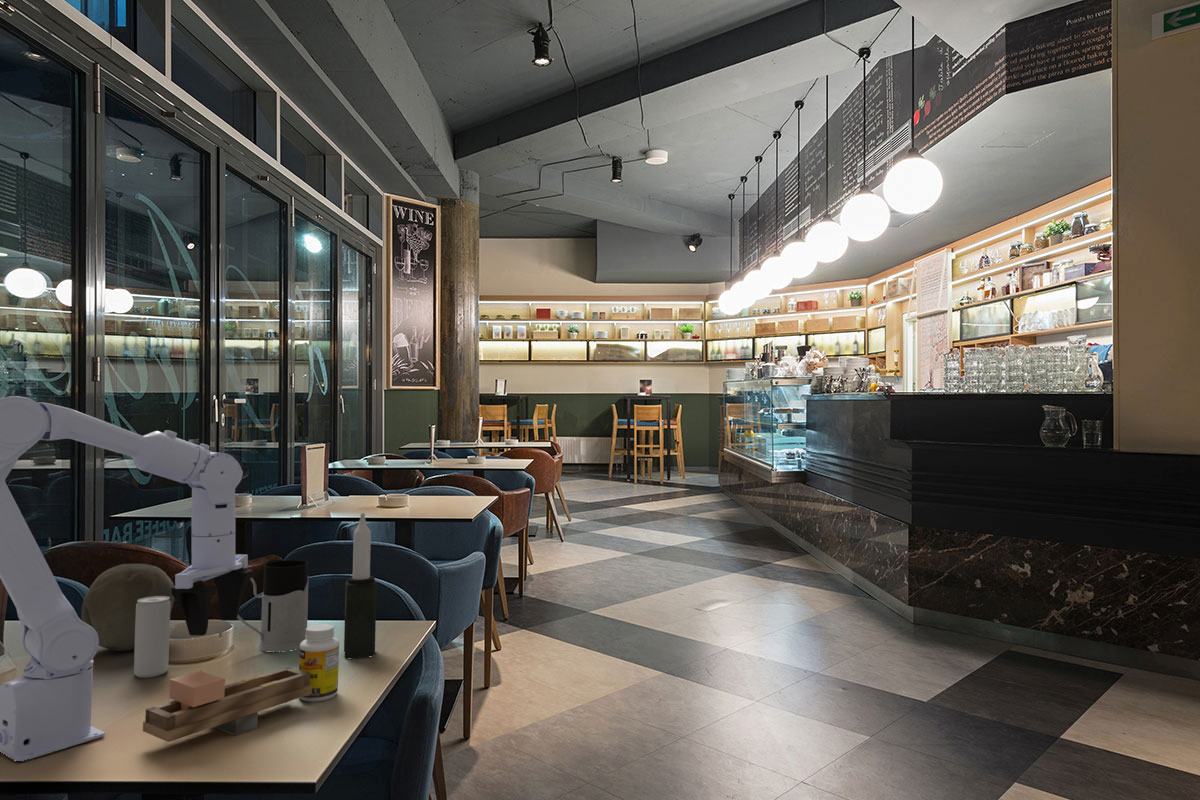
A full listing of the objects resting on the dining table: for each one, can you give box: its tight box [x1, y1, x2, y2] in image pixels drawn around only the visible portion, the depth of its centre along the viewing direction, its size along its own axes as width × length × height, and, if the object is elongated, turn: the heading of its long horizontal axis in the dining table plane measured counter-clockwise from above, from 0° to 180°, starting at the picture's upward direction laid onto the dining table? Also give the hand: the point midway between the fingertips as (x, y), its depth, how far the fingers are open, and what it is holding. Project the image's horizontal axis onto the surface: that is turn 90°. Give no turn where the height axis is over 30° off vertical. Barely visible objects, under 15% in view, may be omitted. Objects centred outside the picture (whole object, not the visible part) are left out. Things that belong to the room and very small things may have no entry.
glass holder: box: [237, 559, 309, 653], centre depth 135 cm, size 9×14×15 cm, turn 137°
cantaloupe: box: [80, 563, 175, 652], centre depth 134 cm, size 14×14×15 cm
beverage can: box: [133, 596, 171, 679], centre depth 120 cm, size 5×5×12 cm
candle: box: [343, 512, 378, 659], centre depth 132 cm, size 5×5×25 cm
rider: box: [168, 670, 226, 710], centre depth 95 cm, size 4×6×4 cm
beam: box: [142, 666, 312, 743], centre depth 99 cm, size 20×6×5 cm, turn 148°
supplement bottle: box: [298, 623, 340, 703], centre depth 111 cm, size 6×6×10 cm
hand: (214, 627), depth 109 cm, fingers open, 7 cm apart
